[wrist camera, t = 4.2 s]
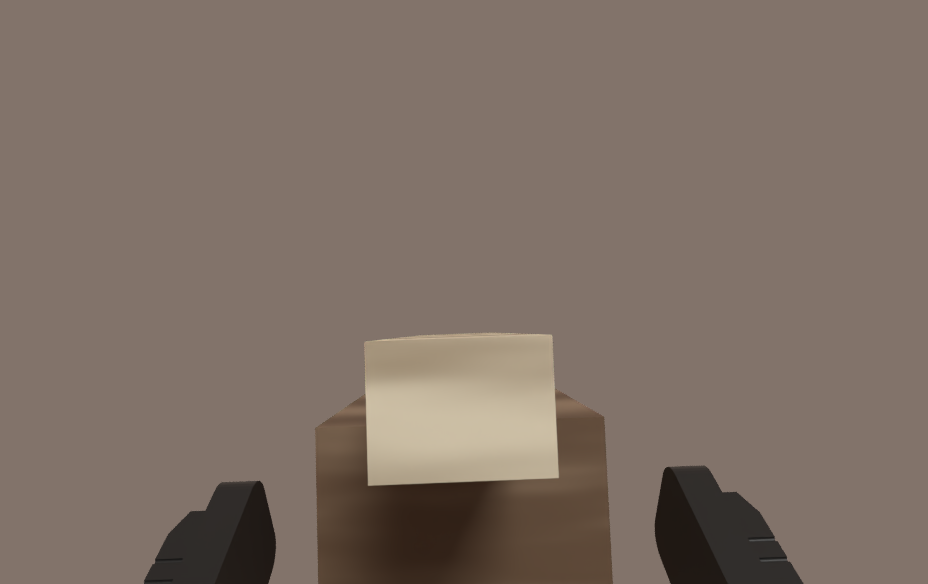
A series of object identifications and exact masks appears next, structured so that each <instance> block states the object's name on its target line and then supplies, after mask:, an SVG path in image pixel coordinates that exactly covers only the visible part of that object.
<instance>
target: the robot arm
mask: <svg viewBox="0 0 928 584" xmlns="http://www.w3.org/2000/svg"><path fill="white" fill-rule="evenodd" d="M655 537H656V542H657V547H658V551H659V554H660V557H661V560H662V562H663V565H664V568H665V570H666V573H667V575H668V578H669V581H670V583H671V584H803V582H802V581H801V579H800V577H799V576H798V574H797V573H796V571H795V570H794V568H793V566H792V564H791V563H790V562H788V561H787V556H786V554H785V553H784V551H783V550H782V548H781V546H780V545H779V543H778V542H777V541H775V538H774V535H773V533H772V532H771V530H770V528H769V527H768V525H767V524H766V522H765V520H764V519H763V517H762V515H761V514H760V512H759V511H758V510H756V509H755V508H754V507H753V506H752V505H751V504H749V503H748V502H747V501H746V500H745V499H744V498H743V497H741V496H740V495H739V494H738V493H737V492H724V493H722V491H721V490H720V488H719V486H718V484H717V482H716V480H715V479H714V477H713V475H712V473H711V472H710V471H709V469H708V468H707V467H706V466H680V467H667V468H665V470H664V472H663V478H662V483H661V489H660V495H659V500H658V506H657V513H656V518H655ZM275 551H276V539H275V532H274V528H273V524H272V520H271V515H270V511H269V507H268V503H267V499H266V494H265V490H264V486H263V484H262V483H261V482H260V481H246V482H222V483H220V484H219V485H218V486H217V488H216V490H215V492H214V494H213V496H212V498H211V500H210V502H209V504H208V506H207V509H206V511H192V512H190V513H189V514H188V515H187V516H186V517H185V518H184V519H183V520H182V521H181V522H180V523H179V524H178V525H177V526H176V527H175V528H174V529H173V530H172V531H171V532H170V533H169V534H168V536H167V538H166V540H165V542H164V543H163V545H162V547H161V549H160V551H159V553H158V555H157V557H156V559H155V564H153V565H152V567H151V568H150V570H149V572H148V574H147V576H146V578H145V580H144V584H268V583H269V579H270V576H271V573H272V569H273V565H274V559H275Z"/></svg>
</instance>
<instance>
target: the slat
mask: <svg viewBox="0 0 928 584" xmlns="http://www.w3.org/2000/svg"><path fill="white" fill-rule="evenodd" d="M364 344H365V382H366V425H367V465H368V486H373V485H398V484H423V483H448V482H473V481H498V480H522V479H547V478H559V471H558V449H557V427H556V406H555V385H554V364H553V342H552V335H541V334H513V333H470V334H443V335H421V336H412V337H403V338H393V339H385V340H376V341H367V342H364Z"/></svg>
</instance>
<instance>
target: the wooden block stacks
mask: <svg viewBox="0 0 928 584" xmlns="http://www.w3.org/2000/svg"><path fill="white" fill-rule="evenodd" d="M555 406H556V427H557V449H558V471H559V478H547V479H522V480H498V481H473V482H448V483H423V484H398V485H373V486H368V465H367V425H366V394H364V395H363V396H362V397H360V398H359V399H357V400H356V401H354V402H353V403H351V404H350V405H348V406H347V407H345V408H344V409H343V410H341V411H340V412H338V413H337V414H335V415H334V416H332V417H331V418H329V419H328V420H327V421H325V422H324V423H322V424H321V425H319V426H318V427H316V428H315V432H316V433H315V434H316V482H317V483H316V485H317V486H316V487H317V537H318V584H613V581H612V561H611V542H610V522H609V502H608V484H607V465H606V444H605V425H604V417H603V416H602V415H600V414H598V413H596V412H595V411H593V410H591V409H589V408H588V407H586V406H584V405H583V404H581V403H579V402H577V401H576V400H574V399H572V398H570V397H569V396H567V395H565V394H564V393H562V392H560V391H558V390H557V389H555Z"/></svg>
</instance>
